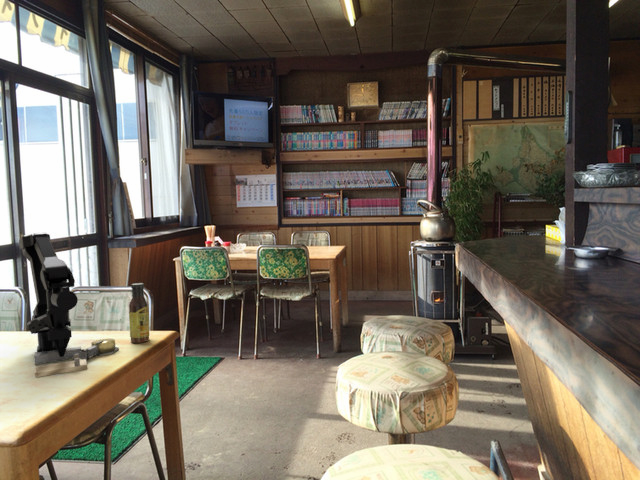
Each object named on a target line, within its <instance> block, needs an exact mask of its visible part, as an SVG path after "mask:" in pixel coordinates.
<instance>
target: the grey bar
mask: <svg viewBox="0 0 640 480" xmlns="http://www.w3.org/2000/svg"><path fill="white" fill-rule="evenodd" d="M81 350H82V346H75V347H69V348H68V347H67V348H66V351H65V354H64V356H63V357H60V356H59V353H58V350H57V349H55V350H48V351H41V352H34V354H33V357H34V358H33V360H34V365H40V364H47V363H51V362H55V361H56V362H57V361H63V360H70V358H71V359H74V354H79V358H80V351H81Z"/></svg>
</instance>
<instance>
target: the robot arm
mask: <svg viewBox="0 0 640 480" xmlns="http://www.w3.org/2000/svg"><path fill="white" fill-rule="evenodd" d="M18 246H19V249H20V250H21V251H22V255H23V257H25V259H26V260H28V262H29V264H30V270H31V275H32V282H33V288H34V292H35V293H34V294H35V298H36V304H35V307H34V309H33V311H32V316H31V320H29V321H28V322H27V324H26V326H27V328H28V330H29V332H30V333H31V335H32V334H34V335H36V334H37V344H38V345H37V347H36V353H38V352H44V351H54V350H58V353H59V356H60V357H63V356H64V354H65V351H66V349H68V346H69V343H70V340H71V338H72V335H73V334H72V328H71V326H72V324H71V322H72V321H71V318H70V310H72V309H74V308H75V307H76V306H77V303H78V301H79V299H78V296H77V294H76V293H75V292H73V291H71V289H70V288H72V287H73V288H74V287H75V283H76V279H75V277H74V275H73V273H72V272H73V271H72V270H71V269H70V267H68V264H67V263H66V262H65V261H64V260H62V259H60V258H59V257H58V256H57V253H56V252H55V250H54V246H53V244H52V242H51V235H50V233H48V232H33V234H32V233H31V234H26V235H25V234H24V235H23V236H22V237H20V238H19V240H18Z"/></svg>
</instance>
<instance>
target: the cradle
mask: <svg viewBox="0 0 640 480" xmlns="http://www.w3.org/2000/svg"><path fill="white" fill-rule="evenodd" d="M87 369H88V363H87V359H83V360H82V359H81V358H80V357H79V354H74V358H73V360H72V361H64V362H59V363H52V364H46V365H39V366H36V367H35V373H34V374H35V378H40V377H45V376H50V375H57V374H63V373H69V372H76V371H81V370H87Z"/></svg>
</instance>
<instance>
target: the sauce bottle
mask: <svg viewBox="0 0 640 480" xmlns="http://www.w3.org/2000/svg"><path fill="white" fill-rule="evenodd" d="M130 285H131V286H130V287H131V292H132V294H131V300H130V302H129V304H128V308H129V309H128V310H129V312H128V314H129V315H128V316H129V317H128V318H129V320H128V321H129V337H130V342H131V343H135V344H140V343H141V344H142V343H146V342H148V341H149V339H150V317H149V305H148V302H147V300H146V298H145V294H144V293H145V289H144V288H145V283H143V282H137V283H132V284H130Z"/></svg>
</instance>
